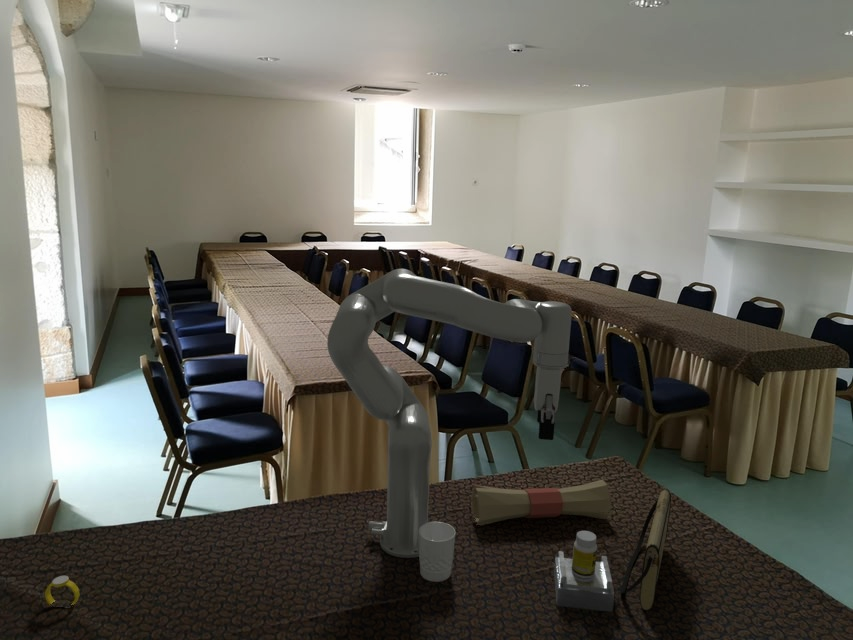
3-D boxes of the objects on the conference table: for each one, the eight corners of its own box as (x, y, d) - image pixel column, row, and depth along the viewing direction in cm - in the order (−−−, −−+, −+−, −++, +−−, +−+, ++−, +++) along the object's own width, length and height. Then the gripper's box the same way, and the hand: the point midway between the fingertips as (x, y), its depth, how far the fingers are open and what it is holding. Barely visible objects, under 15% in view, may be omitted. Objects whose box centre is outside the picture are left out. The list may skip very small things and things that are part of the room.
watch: (45, 612, 125) (39, 584, 124) (53, 602, 128) (47, 576, 127) (76, 610, 125) (71, 583, 124) (83, 601, 128) (78, 574, 127)
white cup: (422, 586, 136) (424, 543, 134) (413, 564, 143) (414, 523, 141) (458, 581, 138) (460, 538, 136) (447, 560, 146) (449, 519, 143)
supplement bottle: (595, 580, 132) (599, 543, 131) (571, 577, 133) (575, 540, 131) (593, 567, 137) (597, 531, 135) (571, 563, 138) (574, 528, 136)
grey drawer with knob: (556, 605, 131) (558, 578, 130) (553, 565, 145) (555, 540, 143) (612, 612, 130) (615, 585, 129) (603, 570, 143) (606, 545, 142)
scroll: (614, 522, 160) (611, 480, 162) (480, 529, 155) (478, 486, 157) (596, 516, 171) (593, 477, 172) (471, 523, 165) (469, 483, 167)
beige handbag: (635, 537, 157) (642, 480, 154) (666, 545, 154) (673, 487, 151) (615, 609, 131) (622, 542, 128) (651, 620, 128) (659, 552, 125)
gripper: (532, 346, 152) (527, 415, 156) (534, 368, 135) (528, 444, 139) (565, 348, 151) (559, 418, 155) (570, 370, 134) (564, 447, 138)
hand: (544, 430), depth 147 cm, fingers open, 9 cm apart
